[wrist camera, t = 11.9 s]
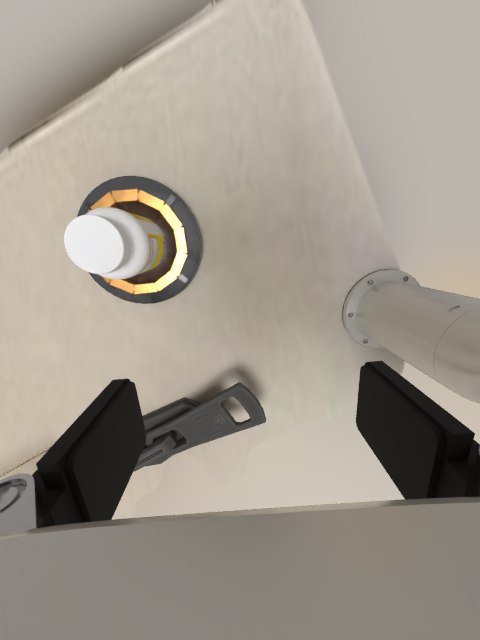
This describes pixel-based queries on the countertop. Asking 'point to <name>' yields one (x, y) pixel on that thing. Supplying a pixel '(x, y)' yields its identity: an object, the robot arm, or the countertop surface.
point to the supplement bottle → (115, 243)
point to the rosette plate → (173, 221)
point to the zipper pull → (195, 424)
